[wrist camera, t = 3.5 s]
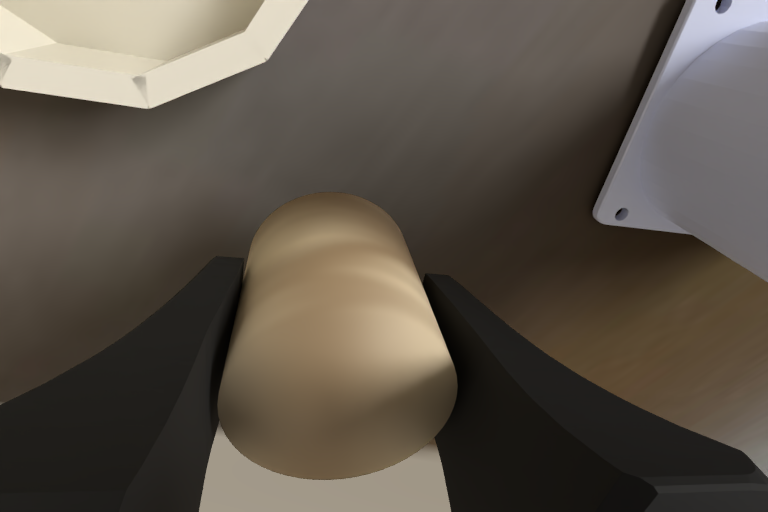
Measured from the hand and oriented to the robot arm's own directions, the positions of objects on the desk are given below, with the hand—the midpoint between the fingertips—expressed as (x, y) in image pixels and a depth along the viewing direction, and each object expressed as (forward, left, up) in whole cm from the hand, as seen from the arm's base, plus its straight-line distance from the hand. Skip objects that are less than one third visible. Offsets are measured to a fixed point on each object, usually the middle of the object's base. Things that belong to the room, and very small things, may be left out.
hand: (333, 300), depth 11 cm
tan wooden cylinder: (0, 0, -2) cm, 2 cm away
